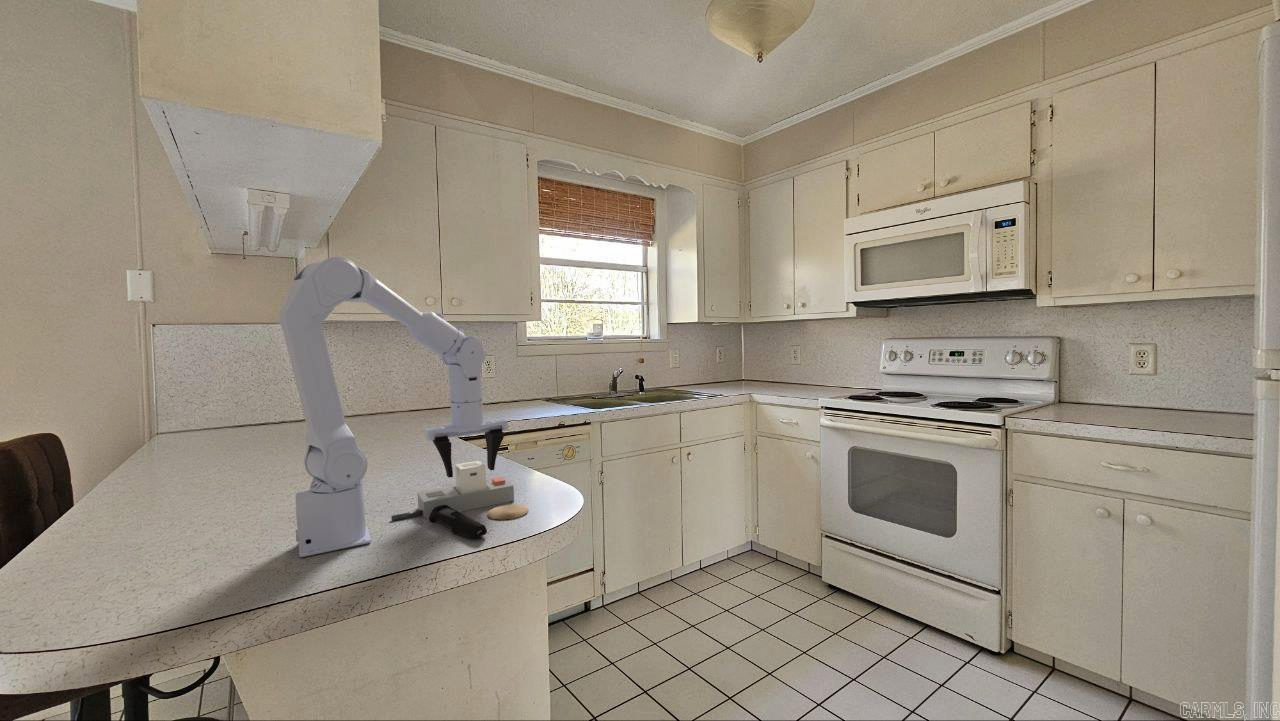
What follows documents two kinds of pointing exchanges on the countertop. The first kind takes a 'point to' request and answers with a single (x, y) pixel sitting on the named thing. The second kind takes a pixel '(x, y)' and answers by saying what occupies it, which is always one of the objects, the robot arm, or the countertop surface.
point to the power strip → (462, 498)
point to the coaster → (508, 511)
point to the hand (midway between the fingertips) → (470, 472)
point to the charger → (470, 477)
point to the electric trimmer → (457, 522)
